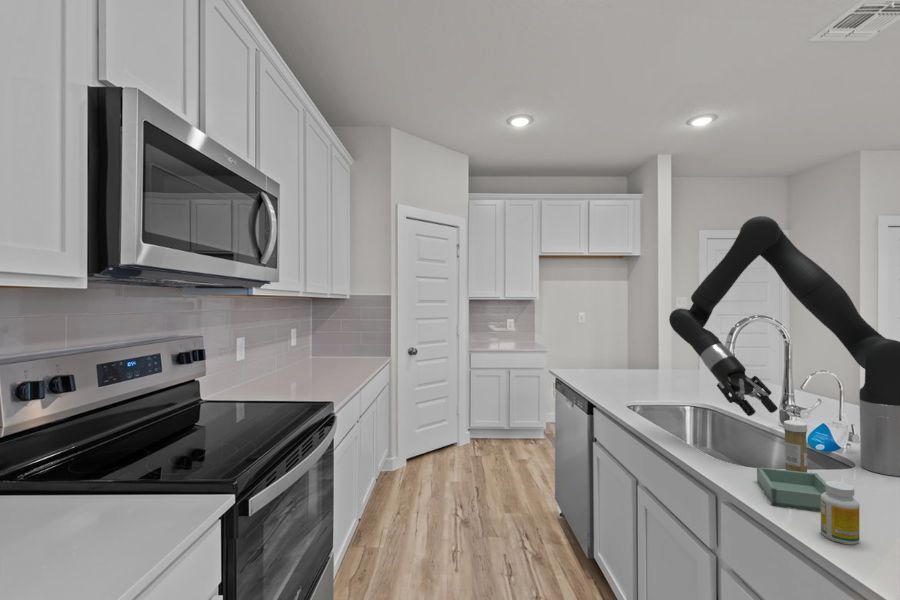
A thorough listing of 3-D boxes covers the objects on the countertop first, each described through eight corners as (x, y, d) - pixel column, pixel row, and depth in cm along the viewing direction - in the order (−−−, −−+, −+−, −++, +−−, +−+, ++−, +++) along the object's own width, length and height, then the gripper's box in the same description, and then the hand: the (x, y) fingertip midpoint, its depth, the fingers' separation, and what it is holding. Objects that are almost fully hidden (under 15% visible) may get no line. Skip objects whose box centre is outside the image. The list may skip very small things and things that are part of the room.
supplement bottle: (813, 532, 84) (812, 481, 84) (835, 528, 86) (834, 477, 86) (845, 547, 79) (844, 492, 79) (867, 543, 80) (866, 489, 81)
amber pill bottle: (813, 480, 109) (812, 424, 109) (796, 481, 108) (795, 425, 108) (796, 473, 113) (795, 419, 113) (779, 474, 112) (778, 420, 113)
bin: (757, 481, 108) (756, 466, 108) (817, 488, 104) (817, 473, 104) (772, 505, 96) (771, 488, 96) (841, 514, 91) (841, 497, 91)
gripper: (712, 356, 123) (755, 407, 113) (748, 353, 129) (792, 402, 118) (695, 373, 128) (735, 423, 117) (730, 369, 133) (771, 417, 123)
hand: (763, 412), depth 118 cm, fingers open, 8 cm apart
